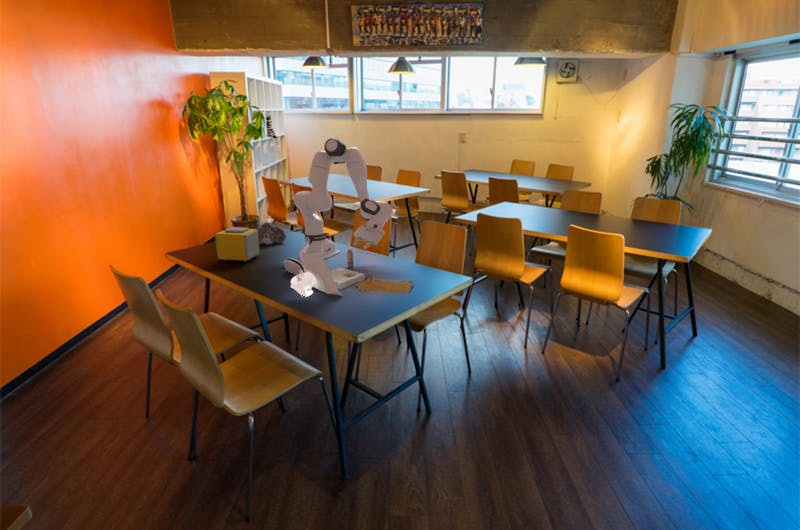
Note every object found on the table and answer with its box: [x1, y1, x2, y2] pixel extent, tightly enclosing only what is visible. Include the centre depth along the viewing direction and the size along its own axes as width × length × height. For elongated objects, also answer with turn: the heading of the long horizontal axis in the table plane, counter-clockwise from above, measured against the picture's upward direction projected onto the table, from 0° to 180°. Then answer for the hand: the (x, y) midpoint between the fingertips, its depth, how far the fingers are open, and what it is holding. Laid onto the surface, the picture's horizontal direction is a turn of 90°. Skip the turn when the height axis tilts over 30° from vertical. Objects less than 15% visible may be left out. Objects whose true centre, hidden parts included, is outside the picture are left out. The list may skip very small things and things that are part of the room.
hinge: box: [282, 257, 305, 276], centre depth 243 cm, size 17×5×10 cm, turn 46°
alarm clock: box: [214, 226, 261, 263], centre depth 267 cm, size 20×16×18 cm
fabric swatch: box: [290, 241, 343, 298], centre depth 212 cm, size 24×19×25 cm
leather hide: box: [354, 274, 414, 295], centre depth 223 cm, size 29×26×5 cm
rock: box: [257, 221, 287, 246], centre depth 304 cm, size 18×14×15 cm
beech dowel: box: [346, 249, 354, 269], centre depth 253 cm, size 3×3×11 cm
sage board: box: [330, 267, 366, 290], centre depth 234 cm, size 18×18×3 cm
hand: (359, 246), depth 255 cm, fingers open, 8 cm apart
